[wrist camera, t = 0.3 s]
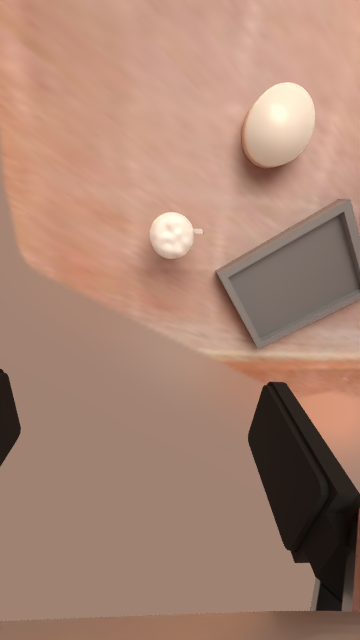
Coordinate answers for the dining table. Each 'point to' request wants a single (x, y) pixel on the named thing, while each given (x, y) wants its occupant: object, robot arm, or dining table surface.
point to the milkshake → (172, 235)
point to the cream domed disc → (278, 126)
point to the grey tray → (297, 274)
